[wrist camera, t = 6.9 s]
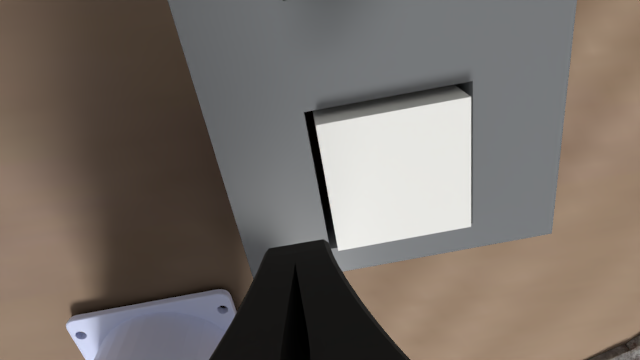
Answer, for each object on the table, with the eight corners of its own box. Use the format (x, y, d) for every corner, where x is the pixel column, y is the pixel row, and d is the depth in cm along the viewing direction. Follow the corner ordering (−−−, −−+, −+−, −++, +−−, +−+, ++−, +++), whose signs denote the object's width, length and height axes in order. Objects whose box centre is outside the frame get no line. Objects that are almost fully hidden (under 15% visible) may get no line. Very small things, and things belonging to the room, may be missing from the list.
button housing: (514, 196, 20) (551, 233, 17) (259, 243, 20) (255, 287, 17) (544, -328, 12) (621, -413, 9) (120, -247, 12) (73, -308, 9)
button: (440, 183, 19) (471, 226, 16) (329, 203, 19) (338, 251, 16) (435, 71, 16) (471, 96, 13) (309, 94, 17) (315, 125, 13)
